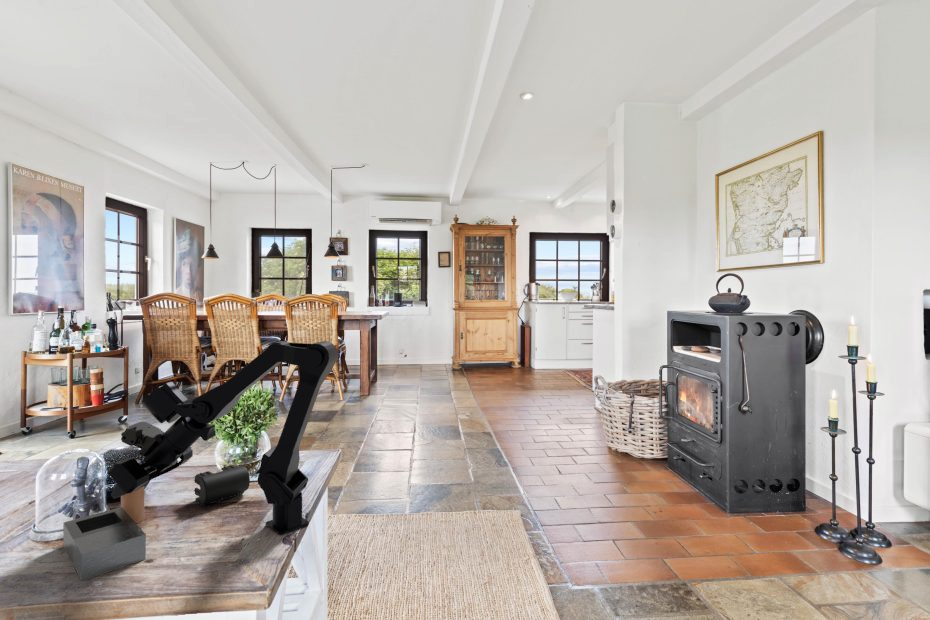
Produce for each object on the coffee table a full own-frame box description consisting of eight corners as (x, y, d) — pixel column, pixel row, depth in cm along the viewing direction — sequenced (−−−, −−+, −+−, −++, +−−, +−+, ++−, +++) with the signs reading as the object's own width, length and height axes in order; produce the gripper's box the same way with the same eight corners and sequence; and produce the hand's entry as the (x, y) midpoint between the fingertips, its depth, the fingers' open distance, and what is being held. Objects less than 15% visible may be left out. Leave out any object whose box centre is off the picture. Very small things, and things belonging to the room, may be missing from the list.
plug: (146, 520, 98) (147, 461, 98) (123, 527, 95) (124, 466, 95) (141, 514, 101) (141, 457, 100) (118, 521, 98) (118, 461, 97)
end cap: (205, 510, 103) (206, 480, 103) (192, 501, 108) (192, 472, 107) (250, 496, 111) (250, 468, 111) (235, 488, 115) (236, 461, 115)
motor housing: (145, 559, 84) (145, 534, 84) (81, 581, 77) (81, 554, 77) (121, 529, 94) (121, 507, 94) (63, 546, 87) (63, 522, 87)
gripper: (180, 400, 106) (132, 447, 107) (117, 422, 88) (60, 478, 88) (213, 436, 107) (165, 482, 107) (158, 464, 88) (100, 521, 88)
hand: (126, 489), depth 98 cm, fingers open, 7 cm apart
